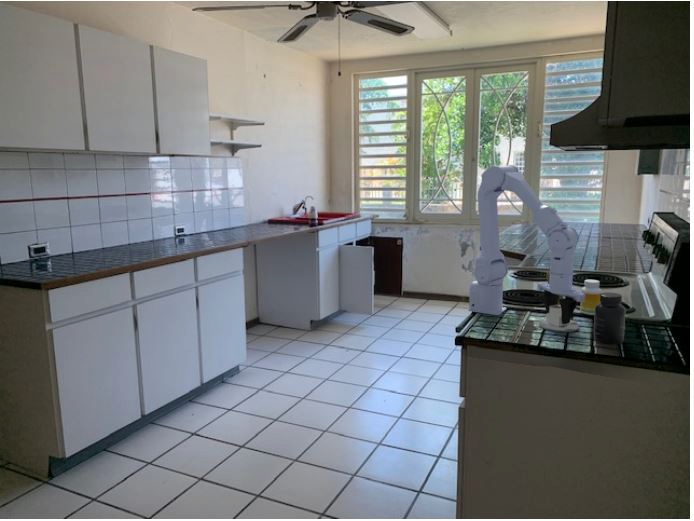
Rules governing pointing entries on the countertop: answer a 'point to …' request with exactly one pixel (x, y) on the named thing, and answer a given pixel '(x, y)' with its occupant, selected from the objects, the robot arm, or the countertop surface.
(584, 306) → the supplement bottle
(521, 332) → the countertop surface
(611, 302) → the supplement bottle
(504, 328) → the countertop surface
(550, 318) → the white faceted lump
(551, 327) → the knobbed pot lid
